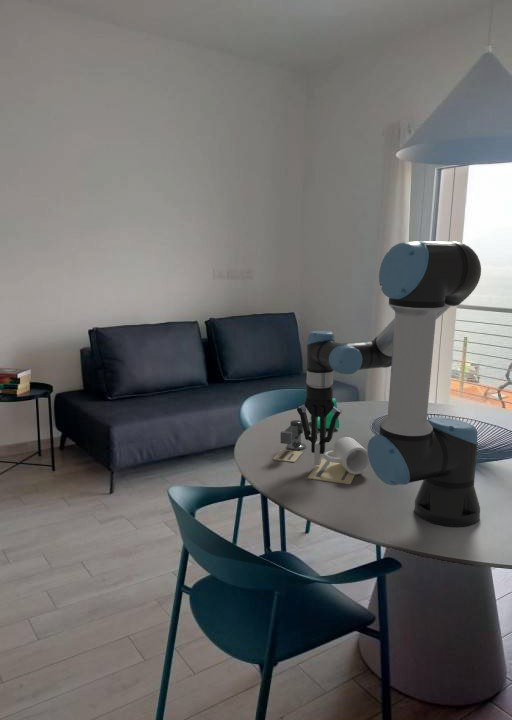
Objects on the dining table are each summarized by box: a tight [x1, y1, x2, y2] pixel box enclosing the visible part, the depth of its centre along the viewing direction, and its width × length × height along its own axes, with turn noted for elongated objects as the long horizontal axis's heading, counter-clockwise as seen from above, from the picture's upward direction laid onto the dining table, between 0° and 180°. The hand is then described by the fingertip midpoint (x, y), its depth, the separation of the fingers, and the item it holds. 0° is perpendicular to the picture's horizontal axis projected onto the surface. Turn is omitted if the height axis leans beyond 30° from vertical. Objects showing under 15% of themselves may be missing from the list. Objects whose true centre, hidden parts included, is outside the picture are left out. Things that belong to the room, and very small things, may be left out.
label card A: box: [272, 449, 304, 464], centre depth 181 cm, size 9×7×1 cm
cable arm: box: [280, 419, 304, 445], centre depth 184 cm, size 14×4×4 cm, turn 159°
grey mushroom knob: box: [286, 434, 307, 451], centre depth 189 cm, size 6×6×5 cm
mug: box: [323, 436, 371, 475], centre depth 169 cm, size 12×10×8 cm
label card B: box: [307, 457, 357, 485], centre depth 169 cm, size 16×12×1 cm
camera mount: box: [309, 397, 340, 430], centre depth 211 cm, size 12×8×10 cm, turn 9°
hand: (317, 463), depth 171 cm, fingers closed
